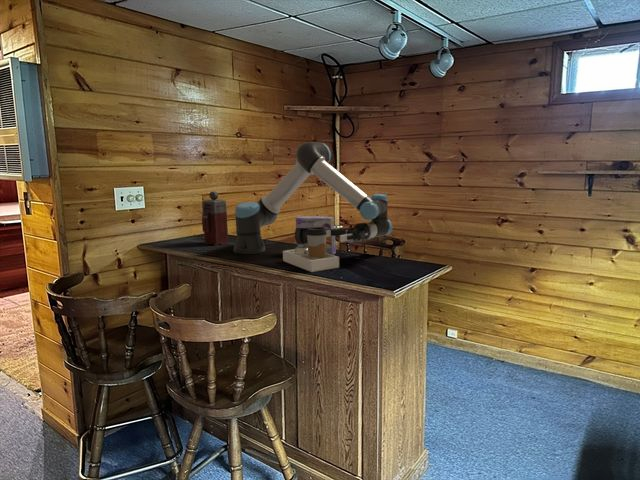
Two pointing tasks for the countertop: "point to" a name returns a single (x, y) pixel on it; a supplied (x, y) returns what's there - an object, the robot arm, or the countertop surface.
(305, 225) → the cake pan box
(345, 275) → the countertop surface
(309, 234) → the coffee cup
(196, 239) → the countertop surface
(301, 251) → the metal tin
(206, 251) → the countertop surface
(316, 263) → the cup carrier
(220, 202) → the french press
